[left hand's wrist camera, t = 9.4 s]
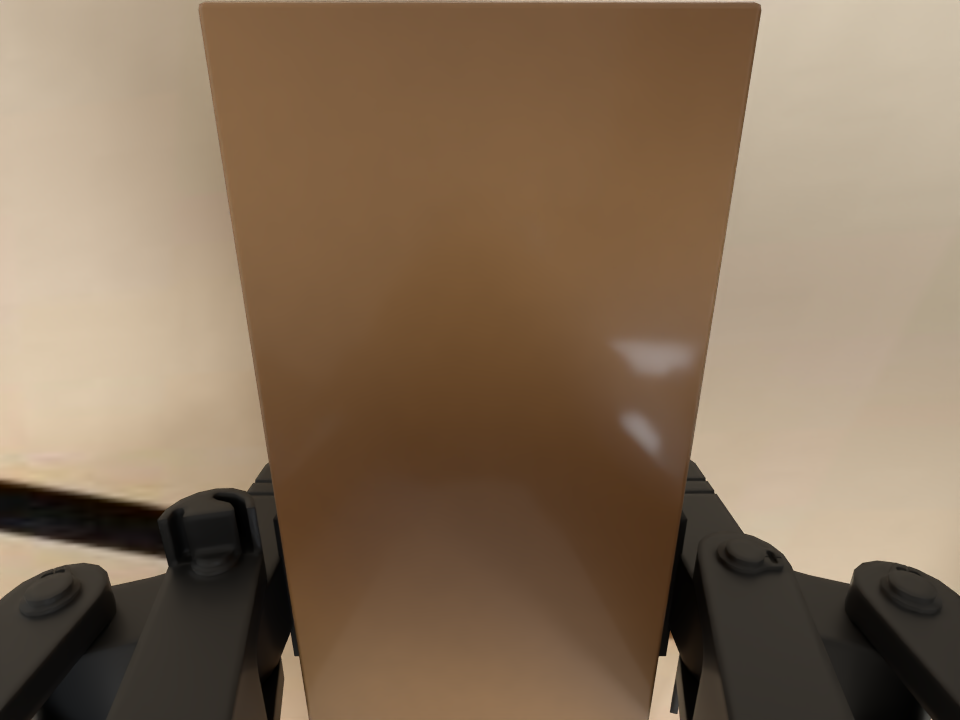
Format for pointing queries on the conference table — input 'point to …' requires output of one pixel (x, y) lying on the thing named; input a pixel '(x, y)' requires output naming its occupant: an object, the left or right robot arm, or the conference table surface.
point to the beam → (479, 331)
